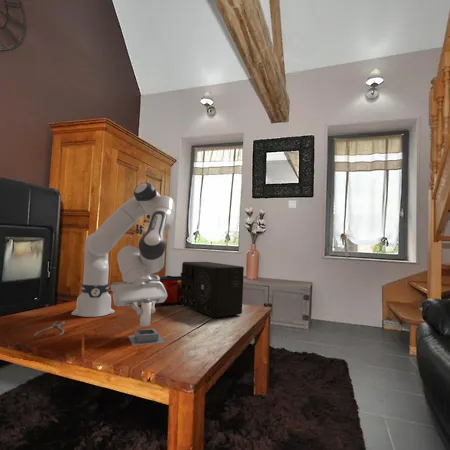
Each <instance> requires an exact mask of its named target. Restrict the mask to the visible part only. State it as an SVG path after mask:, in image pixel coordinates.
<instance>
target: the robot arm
mask: <svg viewBox="0 0 450 450" xmlns="http://www.w3.org/2000/svg"><path fill="white" fill-rule="evenodd" d="M175 213H176V205H175V201H174V199H173V198H172V197H171V196H168V195H161V194H160V192H158V191H157V189H156V188H155V186H153V184H151V182H141V183H140V184H138V185H137V186H136V187H135V188H134V189H133V197H131V198H130V199H127V200H126V201H124V203H123V204H121V205H120V206H119V207H118V208H117V209H115V211H114V212H112V213H111V215H110V216H108V218H106V220H105V221H104V222H103V223H102V224H101V225H99V227H98V228H97V229H96V230H95V231H94V232H92V233H91V234H89V235H88V236H87V237H86V238H85V241H84V255H83V256H84V259H83V260H84V263H83V278H82V284H81V288H80V289H81V293H80V294H79V295H78V296H77V298H76V305H75V307H76V308H75V309H74V310H73V311H72V312H71V316H79V317H86V318H96V317H102V316H106V315H109V314H114V313H115V310H114V309H113V308H112V300H113V304H114V305H115V306H116V307H126V306H128V307H131V308H132V309H133V310H134V311H135V312H136V315H137V316H139V315H140V316H141V314H142V313H143V310H142V308H141V307H140V306H139V305H142V302H143V299H145V298H148V299H150V302H152V305H151V314H154V313H156V307H155V306H156V305H155V303H161V302H164V301H165V300H166V298H167V292H166V290H165V287H164V285H163V284H162V283H161V282H159V280H160V277H161V276H159V275H156V274H157V273H159V272H160V271H162V270H163V268H164V267H165V255H166V254H165V250H166V240H165V237H164V232H167V231H169V230H171V228H172V226H173V224H174V220H175ZM143 216H146V218H147V219H149V225H148V228H147V230H146V232H145V233H144V235H143V236H141V237H140V239H139V241H138V247H135V246H133V245H126V246H124V247H122V248H121V249H120V250H119V252H118V253H117V264H118V268H119V272H120V273H121V274H122V275H121V276H122V281H120V282H113V283H112V284H111V285H110V284H109V274H110V273H109V272H110V271H109V269H110V265H109V253H110V251H111V250H112V249H113V248H114V247H116V245H117V244H118V242H119V241H120V240H121V238H123V236H124V235H125V234H126V233H127V232H128V231H129V230H130V229H131V228H132V227H133V226H134V225H135V224H136V223H137V221H138V220H140V218H141V217H143ZM109 285H110V287H109ZM109 288H110V291H111V292H112V296H111V294H109Z"/></svg>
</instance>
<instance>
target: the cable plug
mask: <svg viewBox="0 0 450 450" xmlns="http://www.w3.org/2000/svg"><path fill="white" fill-rule="evenodd" d="M140 305H141V307H140V308H142V310H143V313H142V314H140V318H139V319H140V320H139V321H140V323H139V327H150V326H151V317H152V313H151V305H152V302H150V299H148V298H145V299H143V302H142V304H140Z"/></svg>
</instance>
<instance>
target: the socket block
mask: <svg viewBox="0 0 450 450" xmlns="http://www.w3.org/2000/svg"><path fill="white" fill-rule="evenodd" d="M128 338H129V341H130V343H131V345H132V346H143V345H153V344H154V345H155V344H164V343H166V341H165V340H164V339H163V338H162V337H161V335H160V334H159V332H158V331H157V330H156V329H155V328H143V329H141V328H140V329H135V330H134V334H132V335H128Z"/></svg>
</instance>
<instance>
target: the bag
mask: <svg viewBox="0 0 450 450" xmlns="http://www.w3.org/2000/svg"><path fill="white" fill-rule="evenodd" d="M159 277H160V280H159V282H161V283H162V284H163V285H164V287H165V290H166V292H167V298H166V300H165V301H164V302H161V303H155V304H156V305H155V306H158V305H161V306H160V307H176V305H178V306H183V305H182V304H180V300H179V298H180V297H181V288H180V285H181V280H182V276H181V275H176V276H175V275H174V276H173V275H164V276H159Z"/></svg>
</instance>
